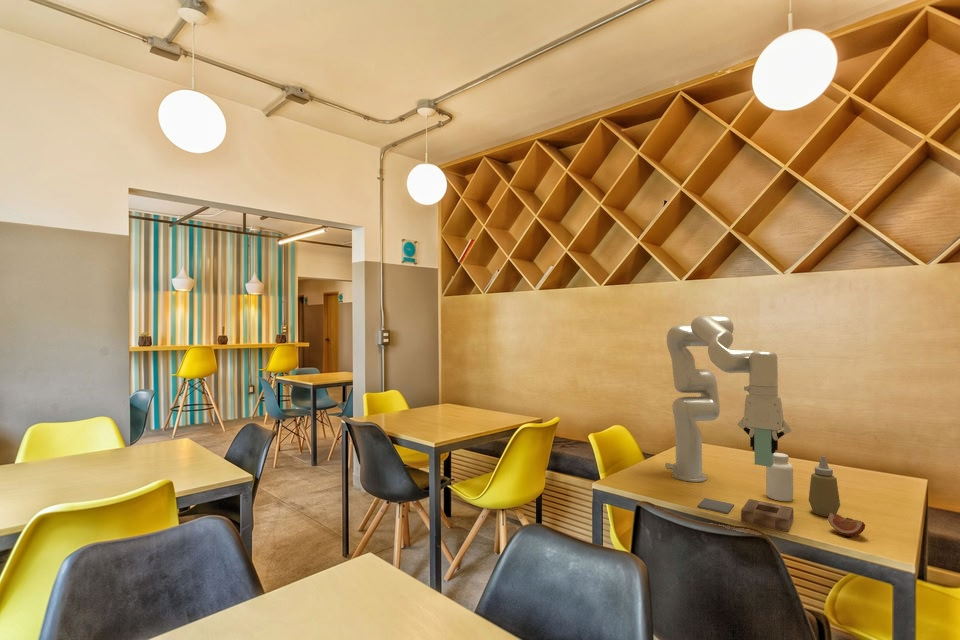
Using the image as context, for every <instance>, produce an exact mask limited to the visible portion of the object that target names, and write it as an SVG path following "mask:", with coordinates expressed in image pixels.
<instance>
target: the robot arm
mask: <svg viewBox="0 0 960 640" xmlns="http://www.w3.org/2000/svg"><path fill="white" fill-rule="evenodd" d="M734 328H735V327H734V324H733V322H732V320H731V319H730V318H729V317H727V316H724V315H701V316H700V315H699V316H697V317H695V318H694V319H693V320H692V321H691V323H690V324H680V325H675V326H673V327H670V329H669V330H668V331H667V333H666V334H667V335H666V346H667V350H668V353H669V355H670V359H671V367H672V375H673V378H672V379H673V384H674V389H675V390H676V391H677V392H678V393H681V394H700V396H681V397H678V398H676V399H674V401H673V402H672V414H673V419H674V420H673V421H674V428H675V429H674V431H675V463H671V462H665V467H664V468H666V470H672V471H671V476H672V477H673V478H674V479H677V480H679V481H684V482H689V483H700V482H704V481H705V482H706V481H707V479H708V478H707V475H706V474H705V473H704V472H703V437H702V430H701V428H700V427H699V426H698V425H697V423H696V422H709V421H710V422H711V421H712V422H713V421H716V420H717V419H718V418H719V416H720V414H721V413H720V412H721V406H720V398H719V391H718V383H717V378H716V376H715V375H714V373H713V372H712V371H711V370H709V369H705V368H702V369H701V368H697V367H696V364H695V363H696V362H695V361H696V360H695V357H694V355H693V353H692V352H691V351H690V350H689V349H688V347H707V353H708V357H709V360H710V361H711V363H712V364H713V365H715V366H716V367H717V368H718V369H719V370H720V371H722V372H725V373H727V374H728V373H729V374H740V373H741V374H743V373H746V374H749V375H748V379H749V380H748V384H749V385H748V386H747V385H746V386H744V387H743V391H745V392H748V394H746V395H745V396H746V397H745V401H744V402H745V403H744V411H743V417H742V418H741V419H740V421H739V422H737V426H738V427H739V428H740V429H742V430H743V431H744V432H745V433H746V434H747V435H748V436H749V439H750V441H749V445H750V447H751V448H752V451H754V452H755V449H754V428H755V429H764V430H771V432H772V436H773V438H772V441H771V444H772V453H776V451H778V450H779V445H778V444H779V439H780V438H782V437H783V436H785V435H787V434H789V433H791V432H792V428H791V427H790V425H789V424H787V422H786V420H784V411H783V404H782V398H781V396H779V391H778V390H779V389H778V387H779V384H778V382H779V379H778V375H779V374H778V373H779V372H778V355H777V353H775V352H773V351H762V350H758V349H729V348H730V347H731V346H732V344H733V342H734V341H733V340H734V337H733V333H734ZM782 429H783V430H782ZM780 430H781V431H780Z"/></svg>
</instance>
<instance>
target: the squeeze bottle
mask: <svg viewBox="0 0 960 640" xmlns="http://www.w3.org/2000/svg"><path fill="white" fill-rule="evenodd" d="M808 492H809V493H808V502H809V505H810V507H811V511H812V512H813V513H814V514H816V515H818V516H821V517H826V518H827V517H828V516H829V513H833V514H836V515H838V511H839V509H840V507H841V501H840V495H839V487H838V480H837V477H835V476H834V470H833V468H831V467H829V464H828V460H827V457H826V456H822V455H821V456H820V459H819V463H818V466H815V467H814V472H813V473H811V475H810V483H809V491H808Z"/></svg>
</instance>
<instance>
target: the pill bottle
mask: <svg viewBox="0 0 960 640" xmlns="http://www.w3.org/2000/svg"><path fill="white" fill-rule="evenodd" d="M773 458H774V464H773V465H772V467H768V466H765V467H766V468H765V472H766V473H765V484H766V486H765V495H766V497H768V498H769V499H771V500H775V501H780V502H793V500H794V467H793V466H794V465H792V464H791V463H790V462H789V455H788V454H786V453H783V452H782V453H781V452H775V453H773Z"/></svg>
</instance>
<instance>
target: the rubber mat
mask: <svg viewBox="0 0 960 640" xmlns="http://www.w3.org/2000/svg"><path fill="white" fill-rule="evenodd" d="M696 506H697V508H699V509H703V510H708V511H712V512H715V513H721V514H725V515H729V513H730V512H731V510H733V509H734V507H735V504H734V503H730V502H725V501H722V500H721V501H720V500H715V499H712V498H711V499H710V498H706V497H704V498H703V499H702V500H701V501H700V502H699V503H698V504H697V505H696Z"/></svg>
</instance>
